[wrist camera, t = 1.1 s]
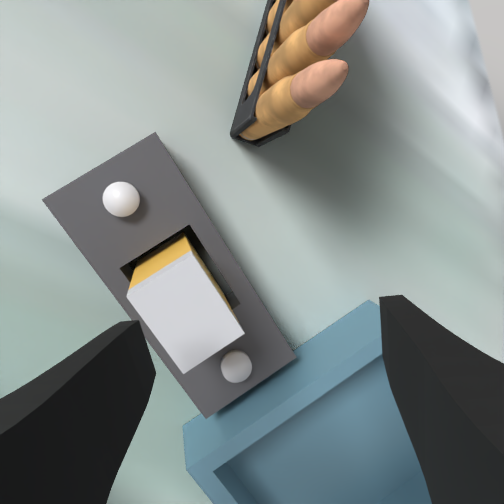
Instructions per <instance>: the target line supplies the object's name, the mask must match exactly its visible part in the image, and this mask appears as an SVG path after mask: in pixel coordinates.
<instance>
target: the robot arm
mask: <svg viewBox="0 0 504 504" xmlns="http://www.w3.org/2000/svg"><path fill="white" fill-rule="evenodd" d="M379 301H380V320H381V339H382V357H383V361H384V365H385V369H386V373H387V377H388V381H389V385H390V388H391V391H392V394H393V396H394V399H395V402H396V404H397V407H398V409H399V412H400V415H401V417H402V420H403V422H404V425H405V427H406V430H407V432H408V435H409V438H410V440H411V443H412V445H413V448H414V450H415V453H416V456H417V458H418V461H419V463H420V466H421V469H422V472H423V475H424V478H425V481H426V485H427V488H428V492H429V495H430V499H431V502H432V504H504V364H503V363H501V362H500V361H498V360H496V359H494V358H492V357H490V356H489V355H487V354H485V353H483V352H482V351H480V350H478V349H477V348H475V347H473V346H472V345H470V344H469V343H467V342H465V341H464V340H462V339H461V338H459V337H458V336H456V335H455V334H453V333H452V332H450V331H449V330H447V329H446V328H445V327H443V326H442V325H440V324H439V323H438V322H436V321H435V320H434V319H432V318H431V317H430V316H428V315H427V314H426V313H424V312H423V311H422V310H421V309H419V308H418V307H417V306H416V305H414V304H413V303H412V302H410V301H409V300H408V299H407V298H405V297H404V296H403V295H395V296H384V297H379ZM155 376H156V371H155V368H154V365H153V362H152V359H151V355H150V352H149V349H148V346H147V343H146V340H145V337H144V334H143V331H142V328H141V324H140V321H139V320H133V321H123V322H119V323H117V324H116V325H114V326H112V327H111V328H109V329H107V330H106V331H104V332H103V333H101V334H100V335H98V336H97V337H96V338H94V339H93V340H91V341H90V342H88V343H87V344H86V345H84V346H83V347H81V348H80V349H78V350H77V351H76V352H74V353H73V354H71V355H70V356H68V357H67V358H65V359H64V360H63V361H61V362H59V363H58V364H56V365H55V366H53V367H52V368H50V369H49V370H47V371H46V372H44V373H43V374H41V375H40V376H38V377H37V378H35V379H34V380H32V381H30V382H29V383H27V384H25V385H24V386H22V387H20V388H19V389H17V390H15V391H14V392H12V393H10V394H8V395H6V396H5V397H3V398H1V399H0V504H106V503H107V500H108V497H109V494H110V491H111V488H112V485H113V483H114V480H115V477H116V475H117V472H118V470H119V468H120V466H121V463H122V461H123V459H124V457H125V454H126V452H127V450H128V448H129V445H130V443H131V441H132V439H133V436H134V434H135V432H136V430H137V427H138V425H139V423H140V420H141V418H142V416H143V413H144V411H145V409H146V406H147V404H148V401H149V397H150V394H151V391H152V387H153V383H154V379H155Z"/></svg>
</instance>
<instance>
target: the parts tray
mask: <svg viewBox="0 0 504 504" xmlns="http://www.w3.org/2000/svg"><path fill="white" fill-rule="evenodd" d="M293 352H294V354H295V356H296V357H297V358H295V359H294V360H292V361H291V362H289V363H288V364H286V365H285V366H283V367H282V368H280V369H279V370H277V371H276V372H275V373H273V374H272V375H270V376H269V377H267V378H266V379H264V380H263V381H261V382H260V383H258V384H257V385H255V386H254V387H252V388H251V389H250V390H248V391H247V392H245V393H244V394H242V395H241V396H239V397H238V398H236V399H235V400H233V401H232V402H230V403H229V404H228V405H226V406H225V407H223V408H222V409H220V410H219V411H217V412H216V413H214V414H213V415H211V416H210V417H208V418H207V419H205V417H204V416H203V415H202V413H201V414H200V415H198V416H197V417H195V418H194V419H192V420H191V421H189V422H188V423H186V424H185V425H183V438H184V450H185V462H186V470H187V471H188V473H189V474H190V475H191V476H192V478H193V479H194V480H195V481H196V483H197V484H198V485H199V486H200V488H201V489H202V490H203V491H204V493H205V494H206V495H207V496H208V498H209V499H210V500H211V501H212V503H213V504H432V502H431V499H430V495H429V492H428V488H427V485H426V481H425V478H424V475H423V472H422V469H421V466H420V463H419V461H418V458H417V456H416V453H415V450H414V448H413V445H412V443H411V440H410V438H409V435H408V432H407V430H406V427H405V425H404V422H403V420H402V417H401V415H400V412H399V409H398V407H397V404H396V402H395V399H394V396H393V394H392V391H391V388H390V385H389V381H388V377H387V373H386V369H385V365H384V361H383V357H382V339H381V320H380V306H379V305H377V304H375V303H373V302H372V301H370V300H368V301H366V302H365V303H363V304H362V305H360V306H359V307H357V308H356V309H354V310H353V311H351V312H350V313H348V314H347V315H345V316H344V317H343V318H341V319H340V320H338V321H337V322H335V323H334V324H332V325H331V326H329V327H328V328H326V329H325V330H323V331H322V332H320V333H319V334H317V335H316V336H315V337H313V338H312V339H310V340H309V341H307V342H306V343H304V344H303V345H301V346H300V347H298V348H297V349H295V350H294V351H293Z"/></svg>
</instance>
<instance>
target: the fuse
mask: <svg viewBox="0 0 504 504" xmlns="http://www.w3.org/2000/svg"><path fill="white" fill-rule="evenodd" d="M126 297H127V299H128V300H129V301H130V303H131V304H132V305H133V307H134V308H135V309H136V311H137V312H138V313H139V315H140V316H141V317H142V319H143V320H144V322H145V323H146V324H147V326H148V327H149V328H150V330H151V331H152V332H153V334H154V335H155V336H156V338H157V339H158V341H159V342H160V343H161V345H162V346H163V347H164V349H165V350H166V351H167V353H168V354H169V355H170V357H171V358H172V360H173V361H174V362H175V364H176V365H177V366H178V368H179V369H180V370H181V372H182V373H183V374H185V373H186V372H188V371H189V370H191V369H192V368H194V367H195V366H197V365H198V364H200V363H201V362H203V361H204V360H206V359H207V358H209V357H210V356H212V355H213V354H215V353H216V352H218V351H219V350H221V349H222V348H224V347H225V346H227V345H228V344H230V343H231V342H233V341H234V340H236V339H237V338H239V337H240V336H242V335H243V334H245V333H244V331H243V329H242V327H241V325H240V324H239V322H238V320H237V318H236V316H235V314H234V312H233V310H232V309H231V307H230V305H229V303H228V301H227V299H226V297H225V295H224V293H223V292H222V290H221V288H220V287H219V285H218V283H217V282H216V280H215V279H214V277H213V276H212V274H211V273H210V271H209V270H208V268H207V267H206V265H205V264H204V262H203V261H202V259H201V257H200V256H199V254H198V253H197V251H196V250H195V248H194V247H193V245H192V244H191V242H190V241H189V239H188V238H187V236H186V234H185V233H184V232H182V233H181V234H179V235H178V236H176V237H174V238H173V239H171V240H170V241H168V242H166V243H165V244H163V245H162V246H160V247H158V248H157V249H155V250H154V251H152V252H150V253H149V254H147V255H146V256H144V257H142V258H141V259H139V260H138V261H137V263H136V267H135V270H134V273H133V276H132V280H131V283H130V286H129V290H128V293H127V296H126Z"/></svg>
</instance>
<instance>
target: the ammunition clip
mask: <svg viewBox="0 0 504 504" xmlns="http://www.w3.org/2000/svg"><path fill="white" fill-rule="evenodd" d="M368 6H369V0H268V1H267V4H266V8H265V11H264V15H263V18H262V22H261V25H260V29H259V32H258V36H257V39H256V43H255V46H254V50H253V53H252V57H251V60H250V64H249V67H248V71H247V74H246V78H245V82H244V85H243V89H242V92H241V96H240V99H239V103H238V106H237V110H236V113H235V117H234V120H233V124H232V127H231V131H230V136H231V137H232V138H235V139H238V140H241V141H244V142H247V143H250V144H253V145H256V146H261V145H263V144H265V143H267V142H269V141H271V140H273V139H275V138H278V137H280V136H282V135H284V134H286V133H288V132H289V130H290V127H291V124H292V123H295V122H297V121H299V120H301V119H302V118H304V117H305V116H307V115H308V113H309V112H310V111H311V110H312V109H313V108H315V107H316V106H318V105H319V104H321V103H322V102H324V101H325V100H327V99H328V98H329V97H331V96H332V95H333V94H334V93H335V92H336V91H337V90H338V89H339V88H340V86H341V85H342V83H343V82H344V80H345V79H346V77H347V74H348V64H347V63H346V62H345V61H343V60H338V59H329V60H327V59H328V58H329V57H331V56H332V55H333V54H334V53H335V52H336V50H337V49H339V48H340V47H341V46H342V45H344V44H345V43H346V42H347V41H348V40H349V38H350V37H351V36H352V35H353V34H354V32H355V31H356V30H357V28H358V27H359V25H360V24H361V22H362V21H363V19H364V17H365V15H366V12H367V10H368Z"/></svg>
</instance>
